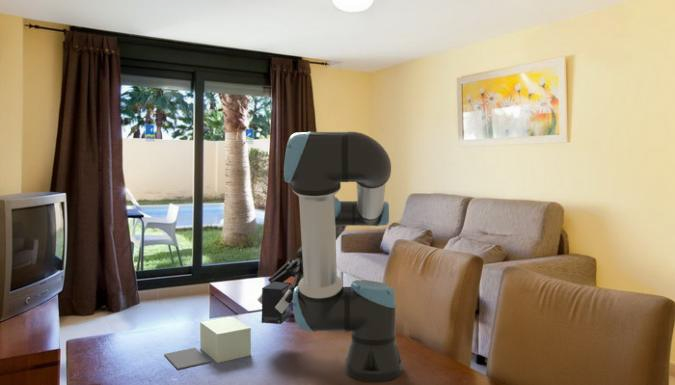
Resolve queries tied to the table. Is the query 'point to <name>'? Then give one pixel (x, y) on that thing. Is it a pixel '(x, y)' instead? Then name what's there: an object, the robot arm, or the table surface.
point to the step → (225, 339)
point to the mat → (186, 358)
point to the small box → (274, 302)
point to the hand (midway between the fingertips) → (268, 306)
